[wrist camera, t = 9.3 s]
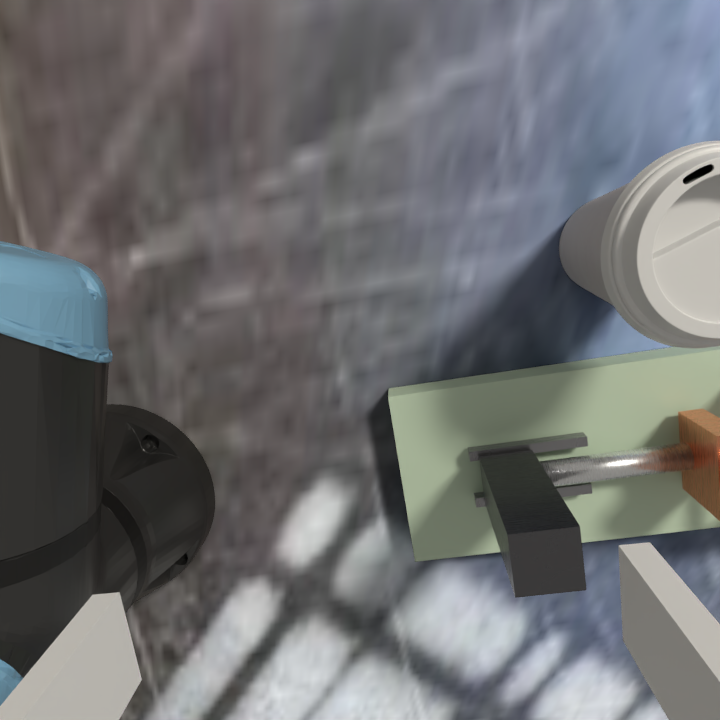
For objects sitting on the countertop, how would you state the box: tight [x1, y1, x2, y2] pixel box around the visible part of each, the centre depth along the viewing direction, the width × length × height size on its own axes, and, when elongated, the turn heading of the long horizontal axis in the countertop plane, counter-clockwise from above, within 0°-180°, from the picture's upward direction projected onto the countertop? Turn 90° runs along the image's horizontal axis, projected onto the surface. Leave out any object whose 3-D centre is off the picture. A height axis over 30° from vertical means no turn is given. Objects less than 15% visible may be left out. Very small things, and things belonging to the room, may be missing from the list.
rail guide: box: [467, 432, 592, 507], centre depth 40 cm, size 8×4×1 cm, turn 100°
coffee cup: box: [559, 141, 720, 348], centre depth 32 cm, size 10×10×15 cm
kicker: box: [479, 409, 720, 598], centre depth 34 cm, size 16×6×11 cm, turn 100°
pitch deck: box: [388, 346, 720, 562], centre depth 41 cm, size 23×13×2 cm, turn 100°
